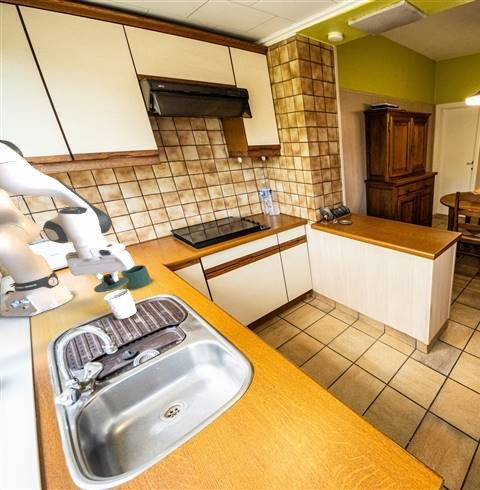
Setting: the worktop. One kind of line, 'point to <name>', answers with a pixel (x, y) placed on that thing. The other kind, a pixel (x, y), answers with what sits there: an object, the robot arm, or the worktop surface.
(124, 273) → the pot
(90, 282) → the worktop surface
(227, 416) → the worktop surface
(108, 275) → the lid
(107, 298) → the white cup
